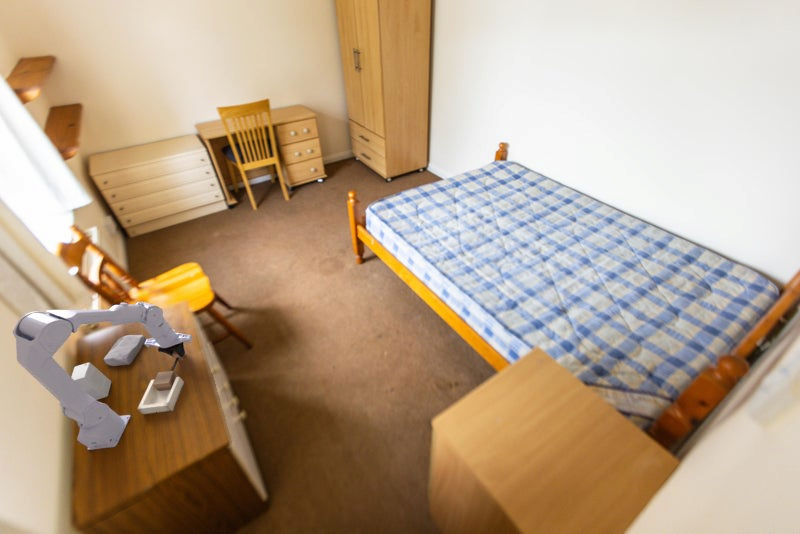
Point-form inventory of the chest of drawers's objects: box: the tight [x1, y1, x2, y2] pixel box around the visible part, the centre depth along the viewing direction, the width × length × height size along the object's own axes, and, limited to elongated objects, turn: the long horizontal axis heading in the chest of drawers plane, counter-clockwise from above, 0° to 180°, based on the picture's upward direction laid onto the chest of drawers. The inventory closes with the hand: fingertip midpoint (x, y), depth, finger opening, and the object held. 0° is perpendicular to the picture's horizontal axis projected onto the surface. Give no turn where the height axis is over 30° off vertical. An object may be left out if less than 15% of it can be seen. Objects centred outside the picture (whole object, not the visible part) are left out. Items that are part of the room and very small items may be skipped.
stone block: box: [103, 334, 147, 367], centre depth 127 cm, size 12×5×10 cm
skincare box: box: [70, 362, 112, 401], centre depth 112 cm, size 6×4×12 cm
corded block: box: [153, 351, 187, 391], centre depth 119 cm, size 14×5×4 cm, turn 6°
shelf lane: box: [137, 376, 185, 415], centre depth 112 cm, size 10×9×4 cm
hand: (179, 355), depth 124 cm, fingers closed on corded block, 2 cm apart
